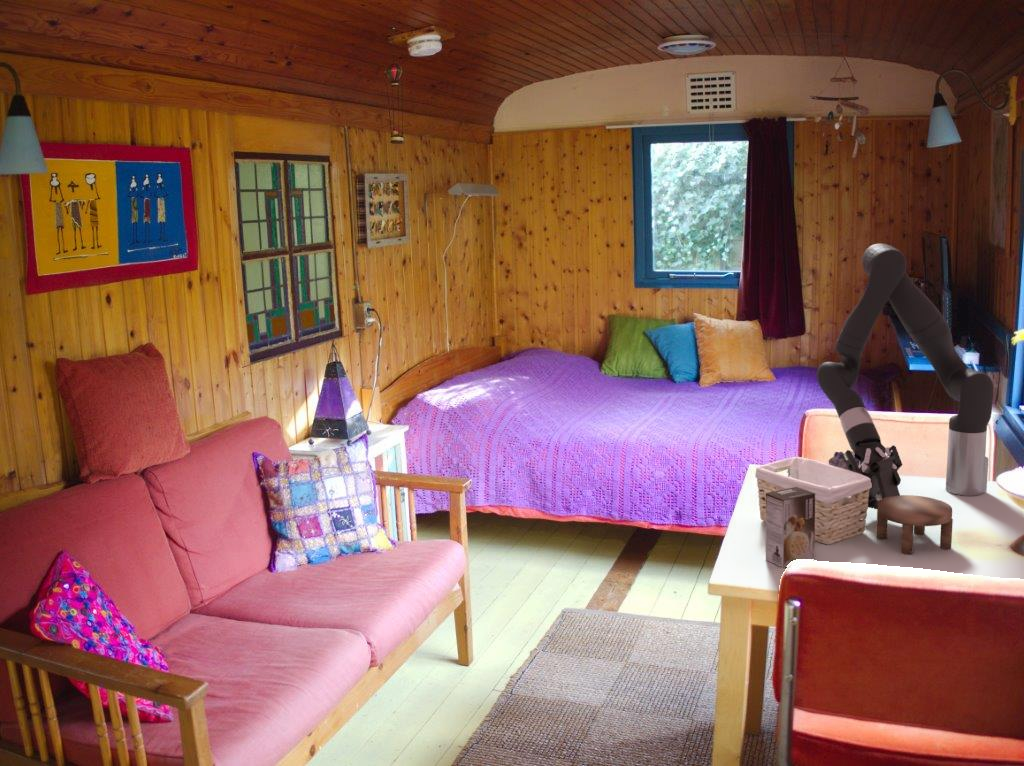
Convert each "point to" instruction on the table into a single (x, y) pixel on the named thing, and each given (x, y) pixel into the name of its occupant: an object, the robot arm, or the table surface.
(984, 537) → the table surface
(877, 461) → the phone stand
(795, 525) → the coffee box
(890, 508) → the stool
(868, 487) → the storage basket
